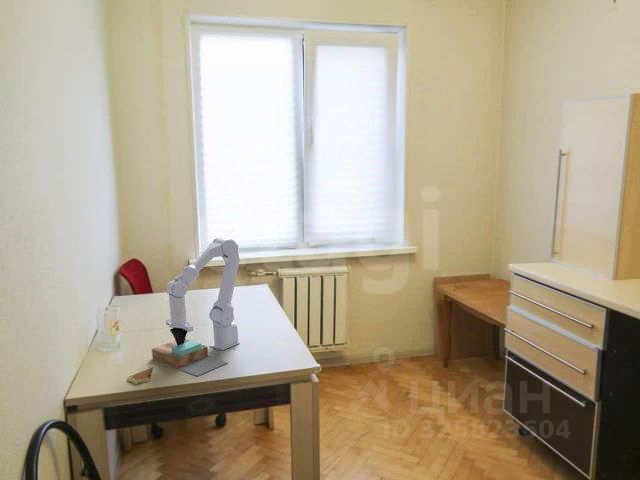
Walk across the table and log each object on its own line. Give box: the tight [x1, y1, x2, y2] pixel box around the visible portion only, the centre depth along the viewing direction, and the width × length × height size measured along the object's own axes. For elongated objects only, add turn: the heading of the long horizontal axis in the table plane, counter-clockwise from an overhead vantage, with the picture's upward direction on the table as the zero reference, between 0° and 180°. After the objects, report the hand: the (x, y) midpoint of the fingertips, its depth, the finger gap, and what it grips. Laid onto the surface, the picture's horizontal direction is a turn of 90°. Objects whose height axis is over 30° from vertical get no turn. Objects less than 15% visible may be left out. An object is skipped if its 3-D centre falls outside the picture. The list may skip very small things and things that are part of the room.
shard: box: [126, 366, 154, 385], centre depth 176 cm, size 11×8×2 cm
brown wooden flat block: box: [151, 338, 209, 370], centre depth 192 cm, size 14×16×4 cm
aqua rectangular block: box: [172, 340, 202, 356], centre depth 188 cm, size 9×6×2 cm, turn 141°
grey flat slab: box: [177, 355, 229, 378], centre depth 183 cm, size 14×11×1 cm
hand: (180, 346), depth 191 cm, fingers closed
